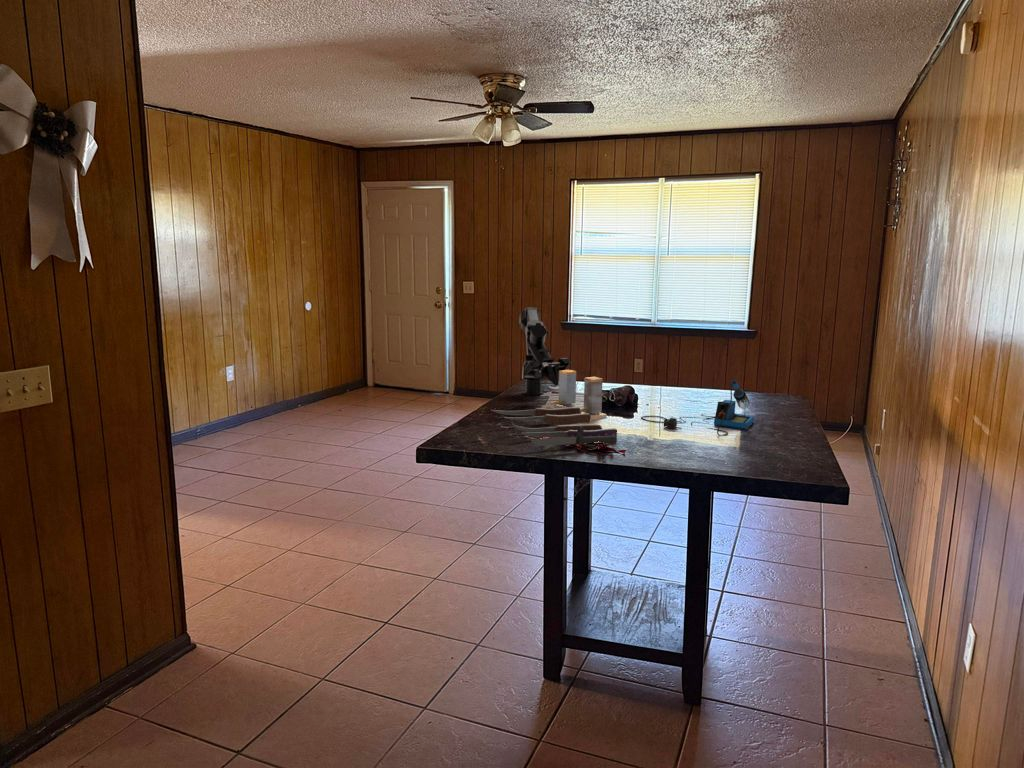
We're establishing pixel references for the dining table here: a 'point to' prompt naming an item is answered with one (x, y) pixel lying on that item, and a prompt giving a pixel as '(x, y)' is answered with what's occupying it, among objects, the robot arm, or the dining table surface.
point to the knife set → (563, 427)
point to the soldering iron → (721, 413)
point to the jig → (588, 399)
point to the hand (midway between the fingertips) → (557, 384)
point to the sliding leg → (566, 387)
